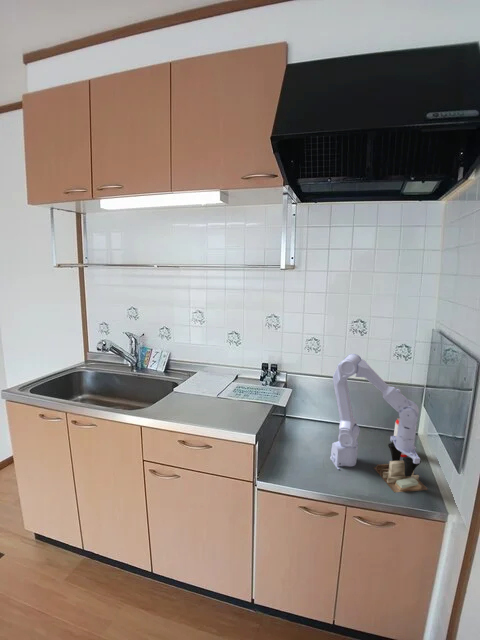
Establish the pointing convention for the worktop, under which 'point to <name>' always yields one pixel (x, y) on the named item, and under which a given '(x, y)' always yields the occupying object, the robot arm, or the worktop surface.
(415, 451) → the robot arm
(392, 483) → the rack
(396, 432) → the beer can
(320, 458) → the worktop surface
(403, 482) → the offcut top
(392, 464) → the tan wooden block
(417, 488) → the block
